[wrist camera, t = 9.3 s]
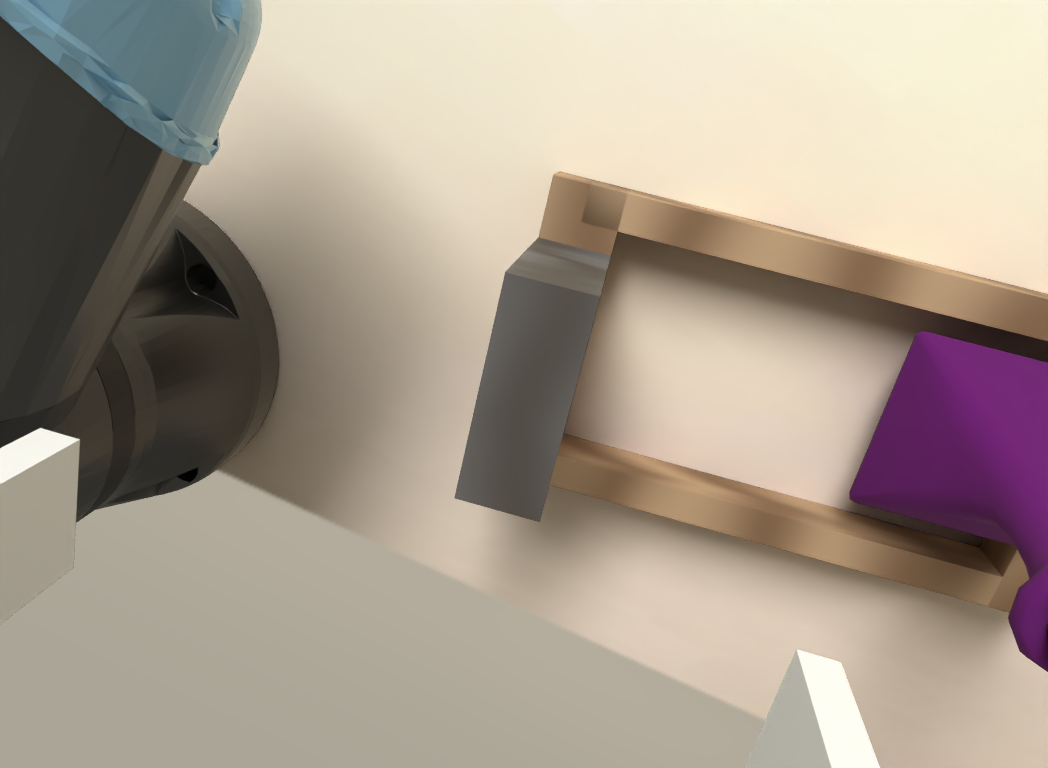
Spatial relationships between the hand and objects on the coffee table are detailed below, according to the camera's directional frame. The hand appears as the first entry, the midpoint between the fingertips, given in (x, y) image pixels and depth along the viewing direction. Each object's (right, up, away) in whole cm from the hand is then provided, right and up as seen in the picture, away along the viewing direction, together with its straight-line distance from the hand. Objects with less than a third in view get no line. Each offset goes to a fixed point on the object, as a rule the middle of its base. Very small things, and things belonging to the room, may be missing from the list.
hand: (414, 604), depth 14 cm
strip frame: (+14, +4, +20) cm, 25 cm away
